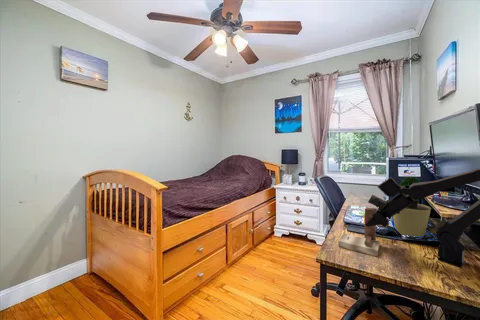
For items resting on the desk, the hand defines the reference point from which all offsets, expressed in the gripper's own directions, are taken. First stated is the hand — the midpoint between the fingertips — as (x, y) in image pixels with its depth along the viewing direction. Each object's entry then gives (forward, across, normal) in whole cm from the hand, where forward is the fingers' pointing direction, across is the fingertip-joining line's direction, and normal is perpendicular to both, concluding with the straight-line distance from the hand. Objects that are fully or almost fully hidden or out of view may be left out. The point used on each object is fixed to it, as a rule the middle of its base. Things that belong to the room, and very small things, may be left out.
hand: (366, 224), depth 98 cm
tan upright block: (+5, +4, +7) cm, 9 cm away
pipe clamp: (+5, -20, +8) cm, 22 cm away
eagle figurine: (-13, -19, +25) cm, 34 cm away
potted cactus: (-5, -22, +18) cm, 28 cm away
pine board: (+8, +7, +5) cm, 11 cm away
